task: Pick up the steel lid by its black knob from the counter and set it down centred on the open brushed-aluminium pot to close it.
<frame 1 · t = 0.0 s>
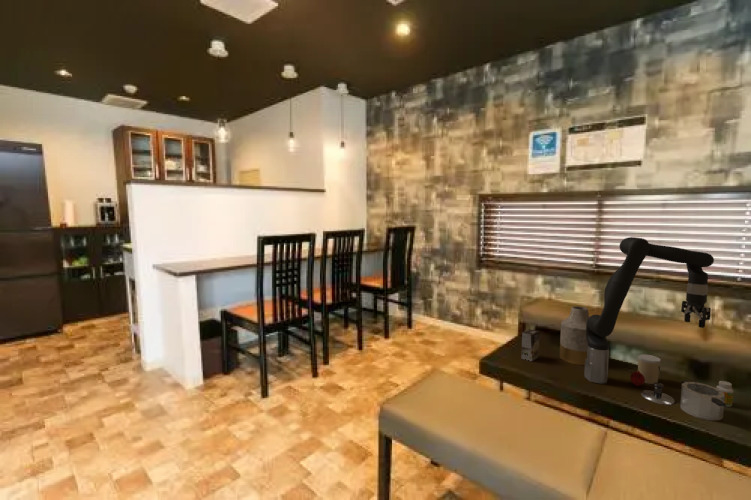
hand: (694, 324, 174), 29 cm above the table, fingers open, 8 cm apart
coffee cup: (647, 380, 178), on the table
lid: (657, 398, 162), on the table
vase: (577, 359, 206), on the table
onion: (637, 386, 173), on the table
coffee box: (529, 358, 208), on the table
supplement bottle: (723, 404, 156), on the table
pot: (700, 411, 150), on the table
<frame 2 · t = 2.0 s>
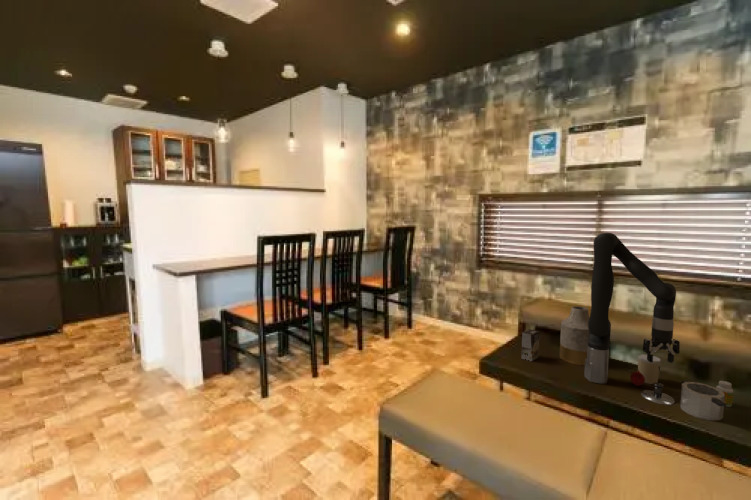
hand: (660, 361, 160), 17 cm above the table, fingers open, 8 cm apart
nothing on the table moved.
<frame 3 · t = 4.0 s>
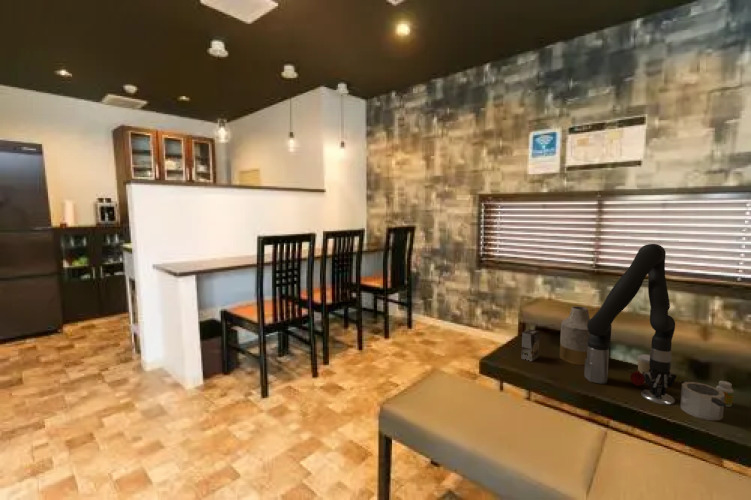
hand: (657, 394, 162), 2 cm above the table, fingers closed on lid, 3 cm apart
lid: (657, 397, 162), on the table, touching gripper
everything else where it was.
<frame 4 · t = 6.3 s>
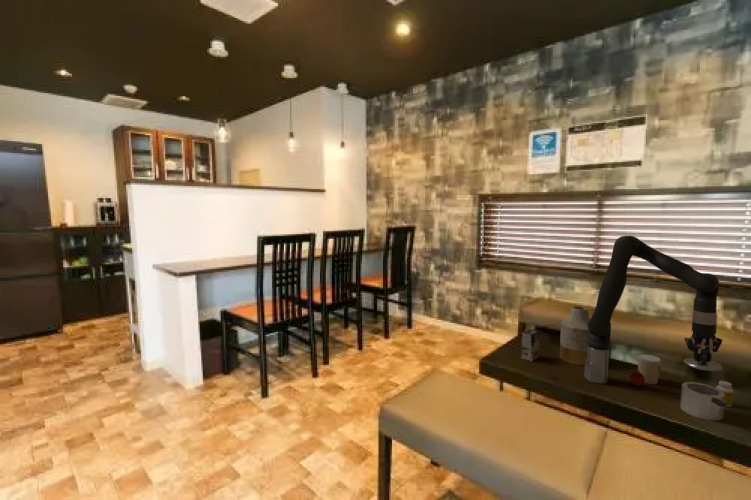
hand: (702, 361, 149), 22 cm above the table, fingers closed on lid, 3 cm apart
lid: (702, 365, 149), point 20 cm above the table, touching gripper
everything else where it was.
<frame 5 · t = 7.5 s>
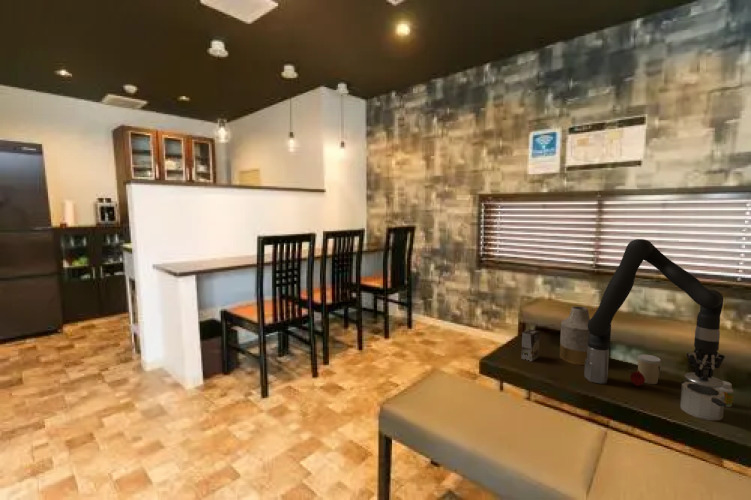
hand: (703, 376, 149), 16 cm above the table, fingers closed on lid, 3 cm apart
lid: (703, 380, 149), point 14 cm above the table, touching gripper
everything else where it was.
when the fingers open (12 cm above the table, at t = 8.4 s): lid stays where it is, resting on pot.
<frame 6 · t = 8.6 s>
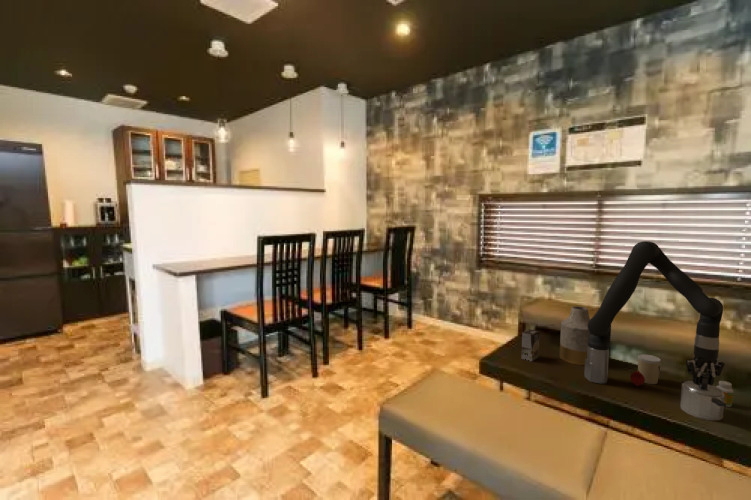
hand: (703, 384, 149), 12 cm above the table, fingers open, 4 cm apart
lid: (702, 389, 149), point 10 cm above the table, touching pot
everything else where it was.
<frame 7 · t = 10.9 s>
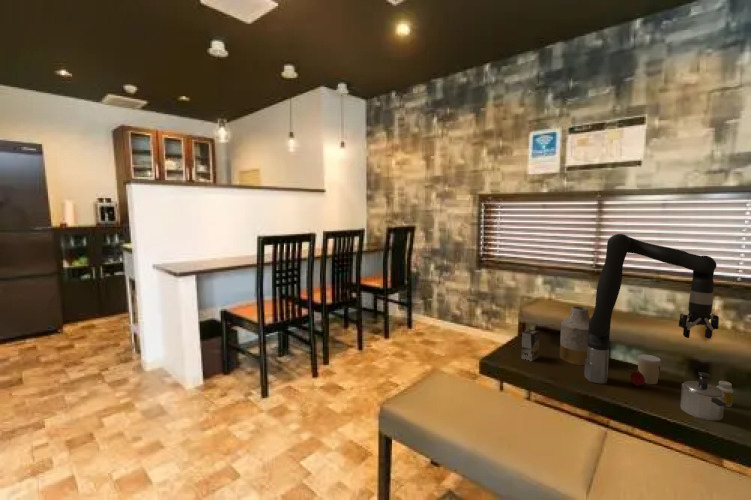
hand: (697, 337, 154), 30 cm above the table, fingers open, 8 cm apart
nothing on the table moved.
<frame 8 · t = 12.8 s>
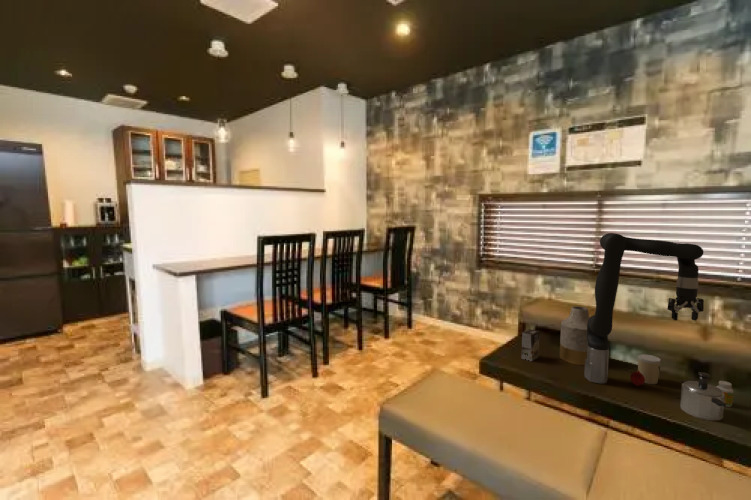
hand: (684, 320, 166), 34 cm above the table, fingers open, 8 cm apart
nothing on the table moved.
at the end: lid 0.0 cm off-centre on the pot, point 10.0 cm above the pot's base; lid tilted 0°; the gripper is holding nothing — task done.
